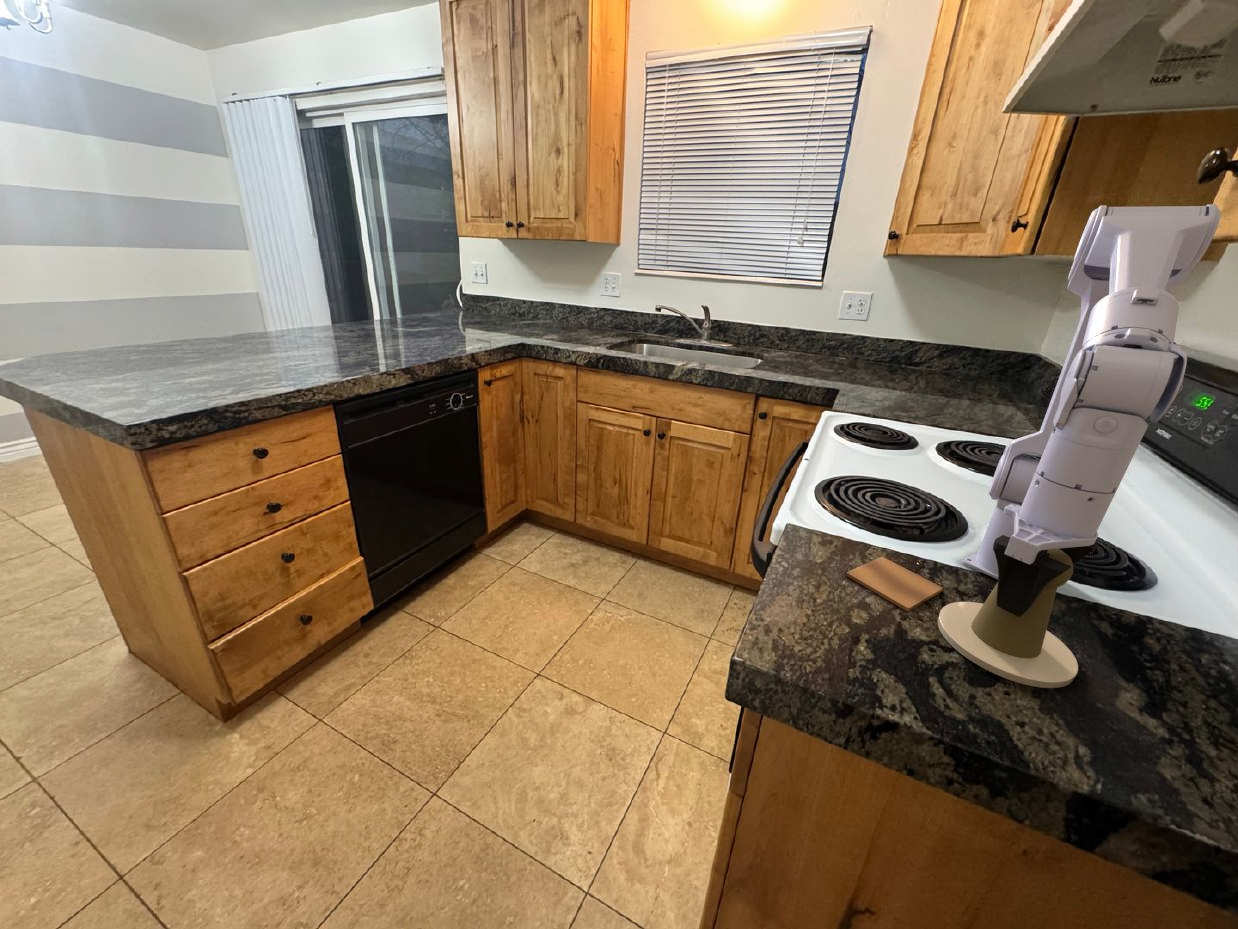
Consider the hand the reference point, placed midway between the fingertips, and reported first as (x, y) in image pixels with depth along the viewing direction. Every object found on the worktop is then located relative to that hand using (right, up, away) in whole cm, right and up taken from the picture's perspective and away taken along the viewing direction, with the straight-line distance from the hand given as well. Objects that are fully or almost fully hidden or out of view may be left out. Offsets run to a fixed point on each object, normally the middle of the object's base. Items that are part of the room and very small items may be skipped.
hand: (1020, 601), depth 51 cm
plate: (0, -5, +2) cm, 5 cm away
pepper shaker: (0, -4, +2) cm, 5 cm away
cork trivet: (-7, -1, +11) cm, 13 cm away
